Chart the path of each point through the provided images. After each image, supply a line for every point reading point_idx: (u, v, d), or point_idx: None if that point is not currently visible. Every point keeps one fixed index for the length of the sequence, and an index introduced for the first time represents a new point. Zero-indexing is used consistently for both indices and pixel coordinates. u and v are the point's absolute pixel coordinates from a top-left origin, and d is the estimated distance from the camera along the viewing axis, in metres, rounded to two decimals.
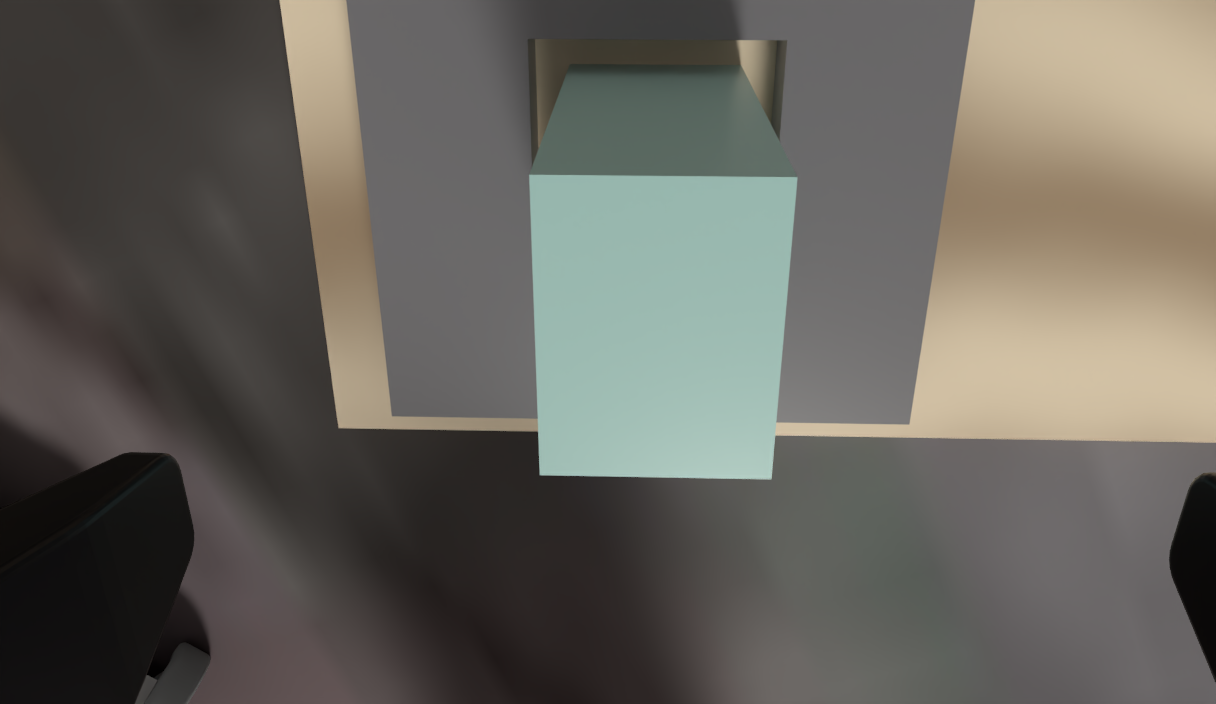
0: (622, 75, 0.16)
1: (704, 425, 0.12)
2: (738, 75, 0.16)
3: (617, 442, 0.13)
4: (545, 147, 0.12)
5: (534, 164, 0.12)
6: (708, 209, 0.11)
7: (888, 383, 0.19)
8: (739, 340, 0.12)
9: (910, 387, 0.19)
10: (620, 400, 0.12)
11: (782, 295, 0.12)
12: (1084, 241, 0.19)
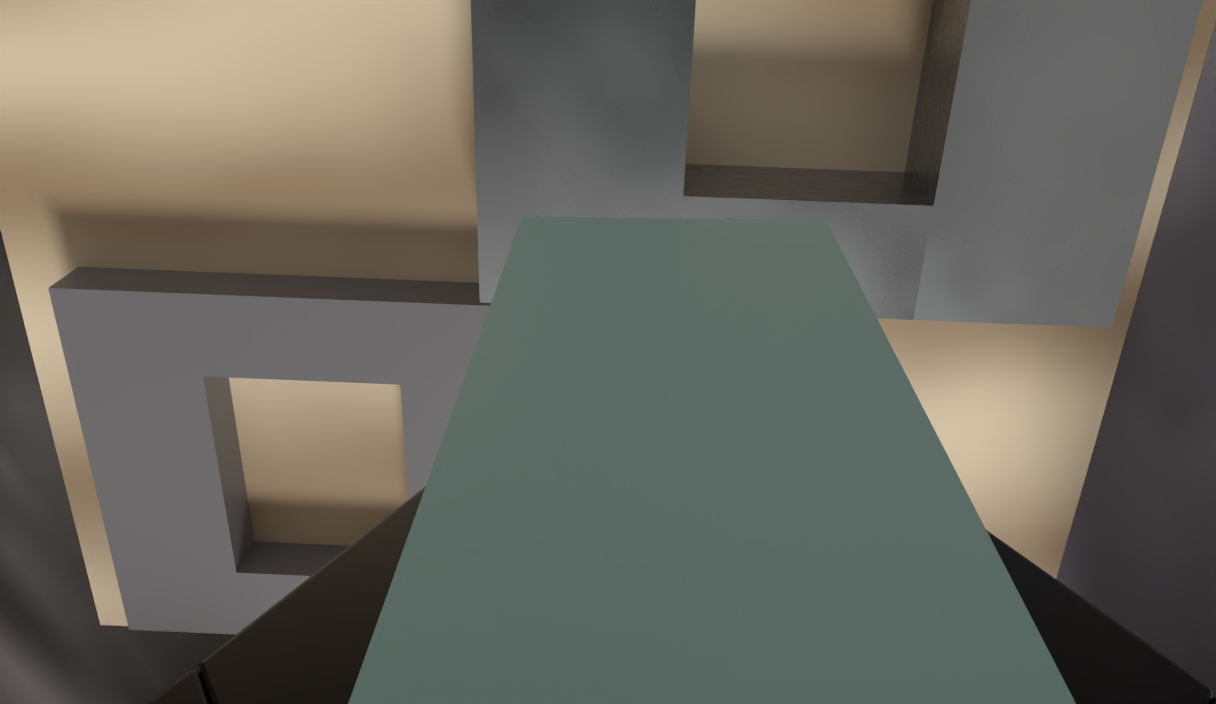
0: (613, 254, 0.09)
1: None
2: (829, 252, 0.09)
3: None
4: (399, 607, 0.05)
5: None
6: None
7: None
8: None
9: None
10: None
11: None
12: None
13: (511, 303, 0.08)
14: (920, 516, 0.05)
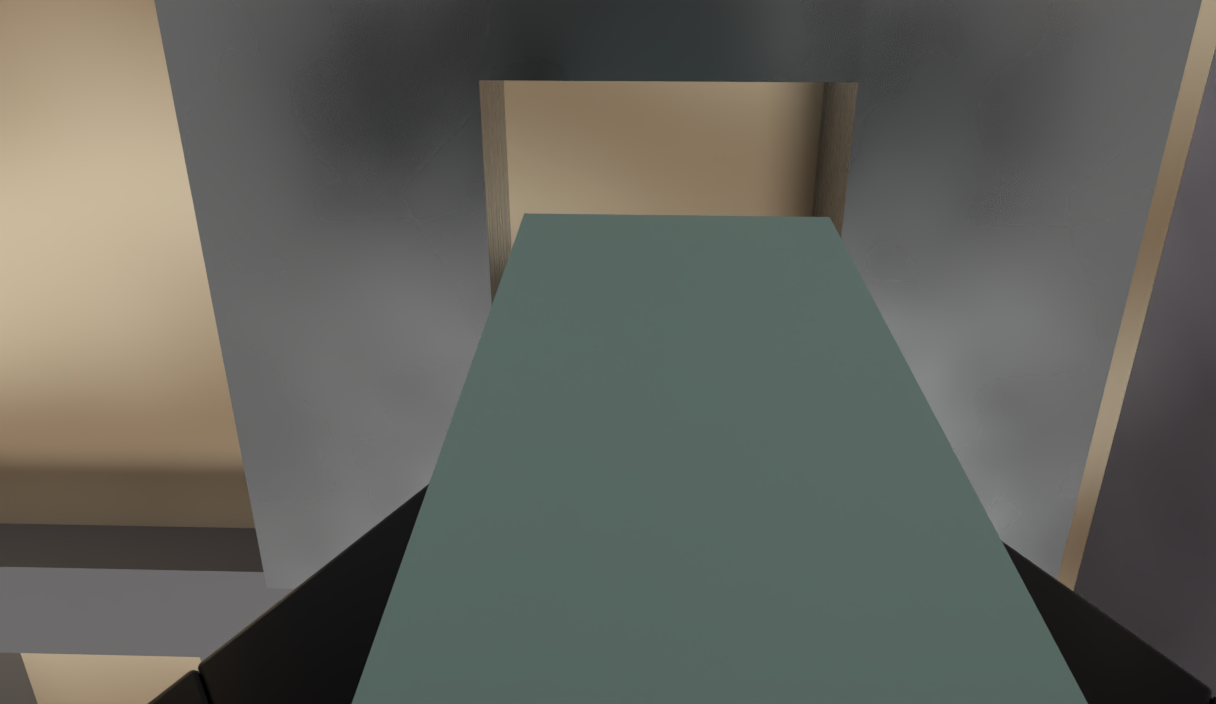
0: (616, 251, 0.09)
1: None
2: (833, 250, 0.09)
3: None
4: (403, 603, 0.05)
5: None
6: None
7: None
8: None
9: None
10: None
11: None
12: None
13: (514, 300, 0.08)
14: (927, 512, 0.05)
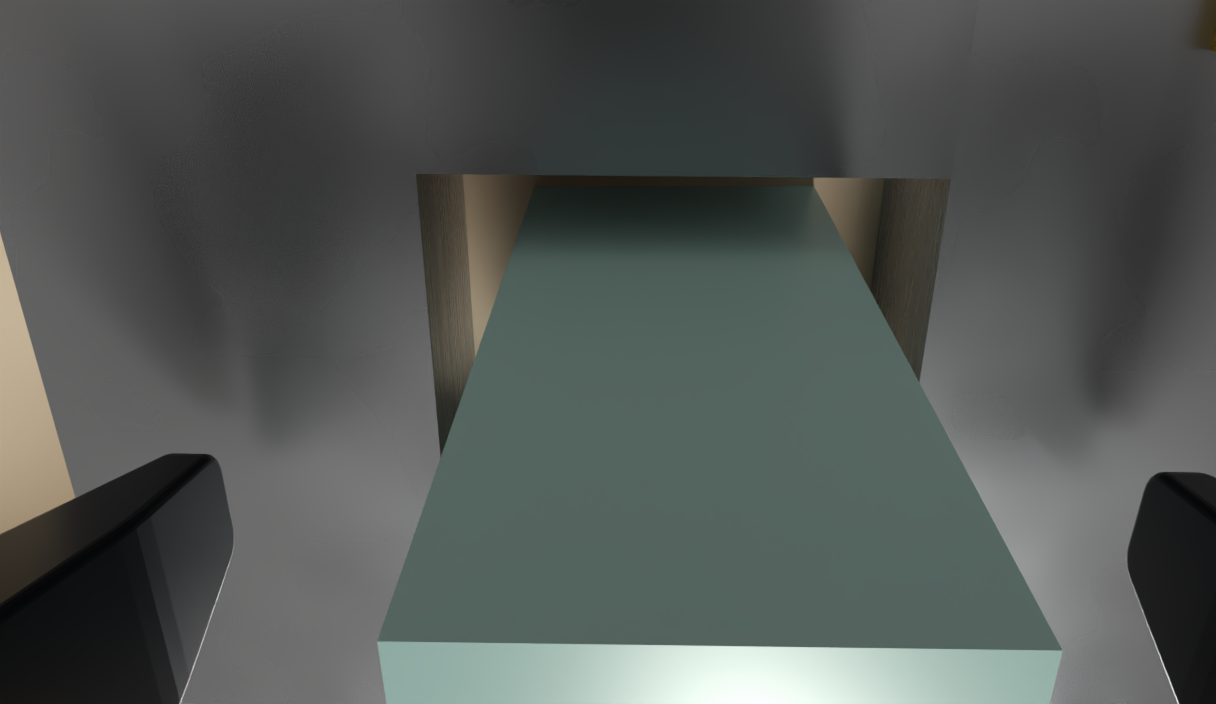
0: (619, 217, 0.10)
1: None
2: (817, 213, 0.10)
3: None
4: (443, 487, 0.05)
5: (405, 566, 0.05)
6: None
7: None
8: None
9: None
10: None
11: None
12: None
13: (528, 258, 0.09)
14: (886, 417, 0.06)
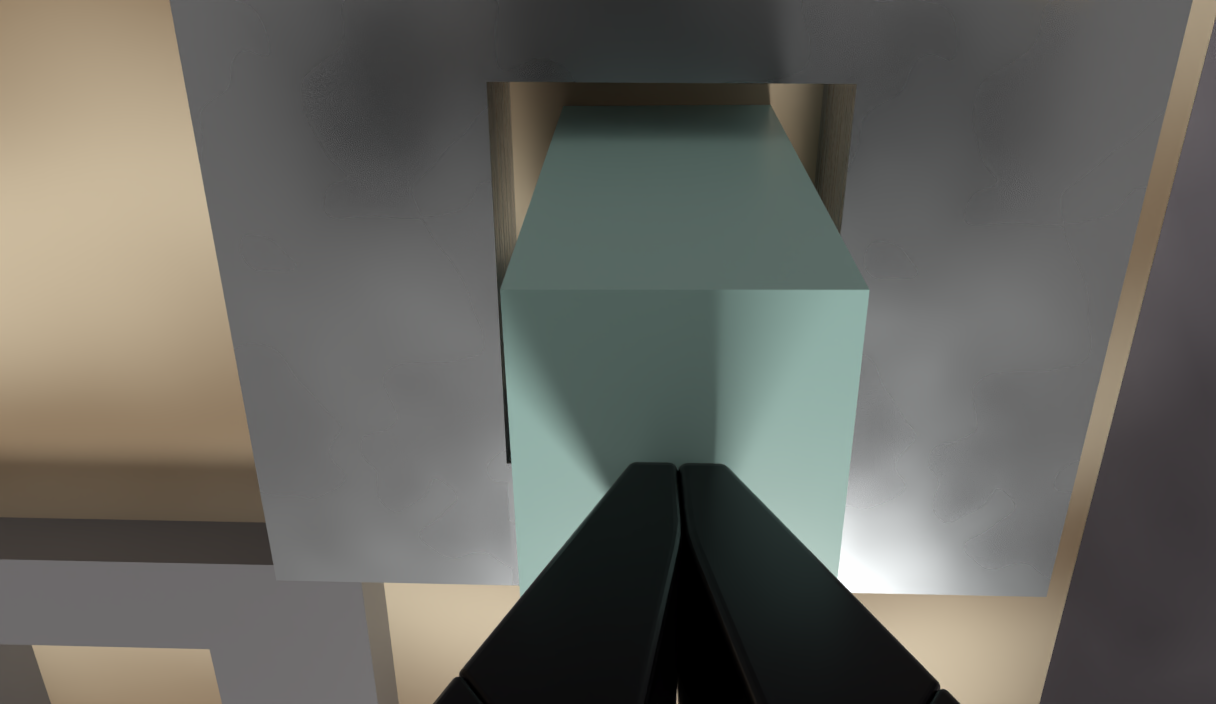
0: (626, 121, 0.13)
1: None
2: (769, 119, 0.13)
3: None
4: (525, 239, 0.09)
5: (508, 268, 0.09)
6: (746, 332, 0.08)
7: None
8: (786, 497, 0.09)
9: None
10: None
11: (845, 440, 0.09)
12: None
13: (563, 143, 0.12)
14: (795, 211, 0.10)
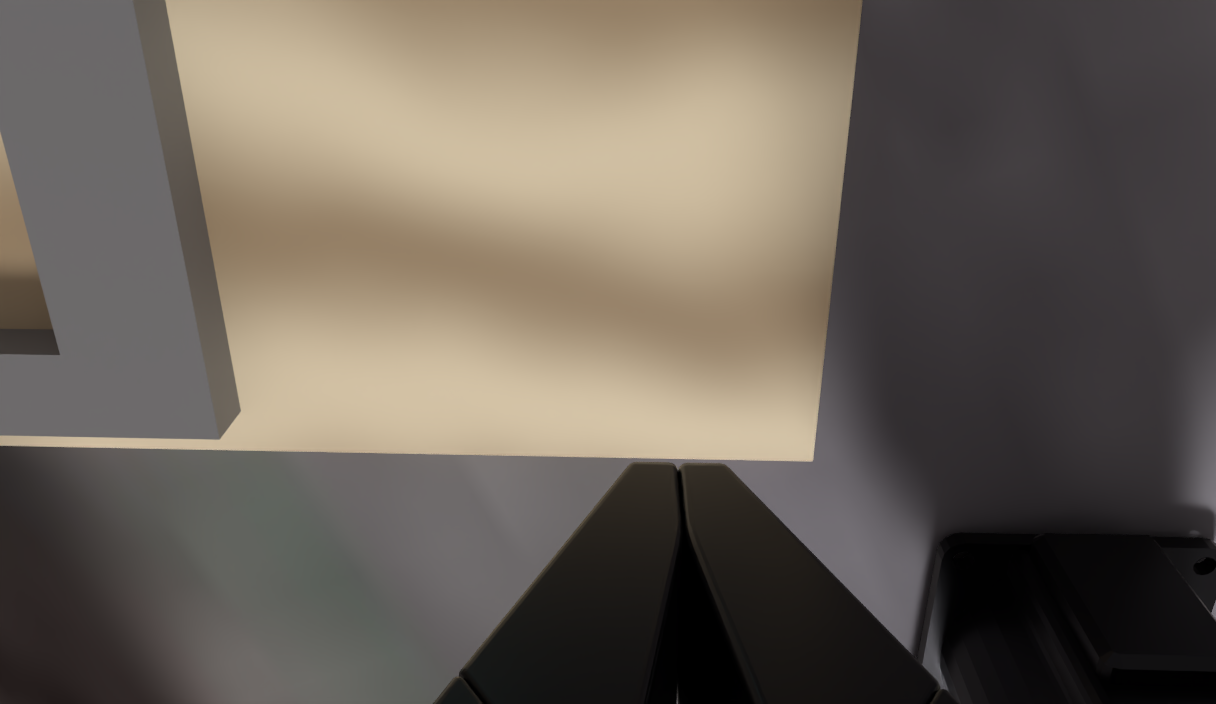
0: None
1: None
2: None
3: None
4: None
5: None
6: None
7: (187, 401, 0.20)
8: None
9: (209, 405, 0.20)
10: None
11: None
12: (366, 271, 0.20)
13: None
14: None
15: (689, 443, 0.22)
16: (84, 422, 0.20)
